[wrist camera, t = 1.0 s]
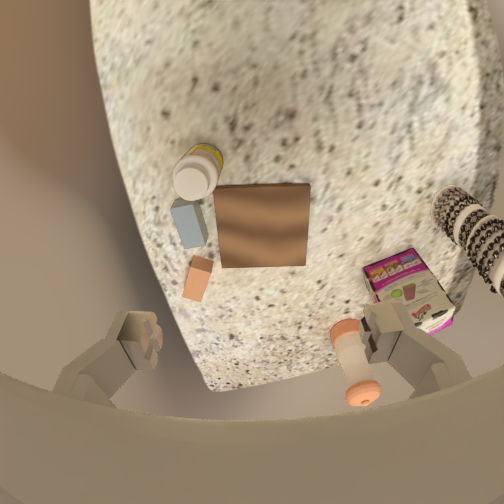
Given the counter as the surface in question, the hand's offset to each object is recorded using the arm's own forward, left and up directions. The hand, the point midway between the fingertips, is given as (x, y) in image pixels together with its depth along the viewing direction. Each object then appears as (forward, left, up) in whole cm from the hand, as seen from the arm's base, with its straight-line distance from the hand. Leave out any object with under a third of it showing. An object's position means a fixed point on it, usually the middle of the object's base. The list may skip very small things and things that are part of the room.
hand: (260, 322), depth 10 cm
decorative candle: (+9, +35, -32) cm, 48 cm away
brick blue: (+11, -10, -32) cm, 35 cm away
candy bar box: (+22, +25, -32) cm, 46 cm away
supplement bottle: (+2, -7, -32) cm, 33 cm away
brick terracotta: (+22, -11, -32) cm, 40 cm away
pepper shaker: (+39, +19, -32) cm, 54 cm away
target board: (+13, +1, -32) cm, 34 cm away
